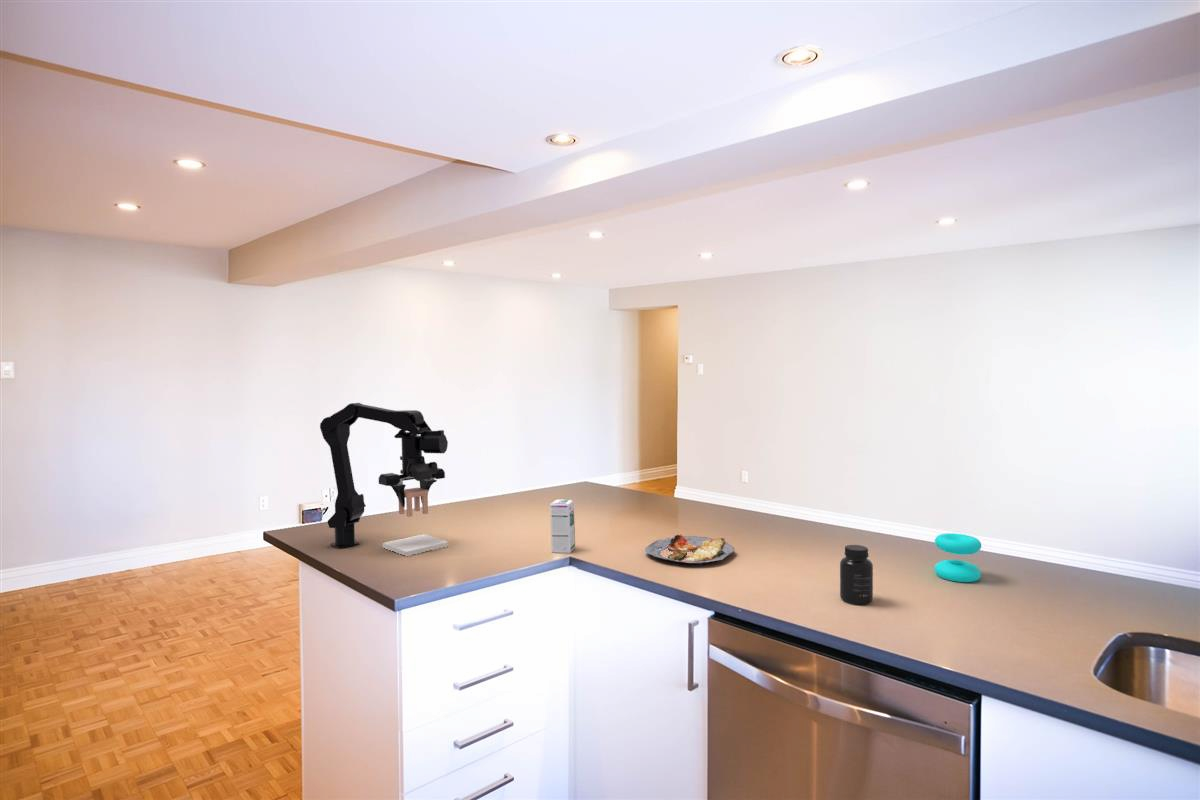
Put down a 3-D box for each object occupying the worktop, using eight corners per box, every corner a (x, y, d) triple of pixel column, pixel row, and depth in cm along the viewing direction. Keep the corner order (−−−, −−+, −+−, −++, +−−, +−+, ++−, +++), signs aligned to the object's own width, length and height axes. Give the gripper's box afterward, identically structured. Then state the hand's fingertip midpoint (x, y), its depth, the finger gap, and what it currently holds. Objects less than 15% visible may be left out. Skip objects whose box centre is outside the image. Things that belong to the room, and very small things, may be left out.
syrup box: (570, 553, 182) (569, 503, 182) (550, 552, 184) (549, 502, 183) (575, 548, 188) (574, 499, 187) (556, 547, 189) (555, 498, 189)
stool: (408, 517, 186) (407, 493, 185) (398, 513, 190) (397, 490, 190) (428, 513, 190) (427, 490, 190) (418, 510, 195) (417, 487, 194)
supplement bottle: (834, 595, 146) (834, 543, 145) (863, 594, 146) (863, 542, 146) (848, 606, 139) (848, 552, 138) (878, 605, 139) (879, 550, 139)
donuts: (990, 542, 152) (947, 542, 152) (989, 583, 152) (947, 584, 152) (967, 531, 162) (927, 532, 162) (966, 570, 162) (927, 571, 162)
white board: (382, 547, 191) (382, 543, 191) (424, 538, 201) (423, 534, 201) (406, 556, 182) (406, 551, 181) (448, 546, 192) (448, 541, 192)
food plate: (670, 538, 197) (670, 527, 197) (744, 549, 185) (744, 537, 185) (633, 562, 175) (632, 549, 175) (713, 576, 164) (713, 562, 163)
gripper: (394, 458, 177) (395, 514, 178) (453, 452, 190) (455, 504, 191) (377, 455, 185) (378, 508, 186) (435, 449, 198) (436, 499, 199)
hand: (413, 505), depth 190 cm, fingers closed on stool, 6 cm apart
